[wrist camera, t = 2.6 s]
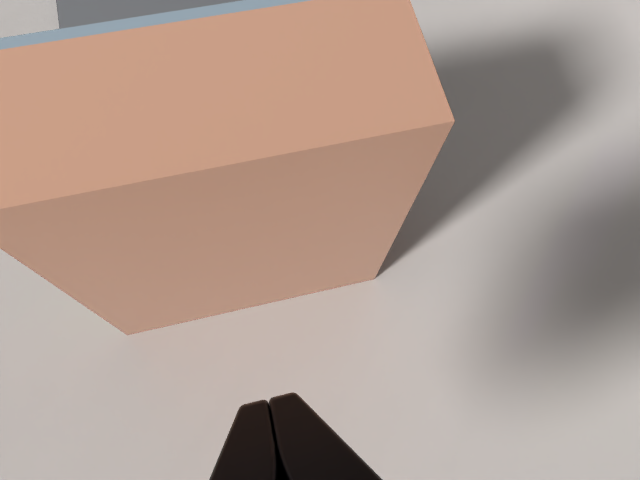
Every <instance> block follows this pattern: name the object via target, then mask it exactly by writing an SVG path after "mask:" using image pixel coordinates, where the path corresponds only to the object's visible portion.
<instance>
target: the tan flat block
mask: <svg viewBox="0 0 640 480" xmlns="http://www.w3.org/2000/svg"><path fill="white" fill-rule="evenodd" d="M454 122H455V120H454V117H453V114H452V112H451V109H450V106H449V104H448V101H447V98H446V96H445V93H444V90H443V88H442V85H441V82H440V80H439V77H438V74H437V72H436V69H435V66H434V64H433V61H432V58H431V55H430V53H429V50H428V47H427V45H426V42H425V39H424V37H423V34H422V31H421V29H420V26H419V23H418V21H417V18H416V15H415V13H414V10H413V7H412V5H411V2H410V0H242V1H235V2H229V3H222V4H216V5H210V6H203V7H197V8H190V9H184V10H177V11H171V12H165V13H158V14H152V15H145V16H139V17H133V18H126V19H120V20H113V21H107V22H100V23H94V24H88V25H81V26H75V27H68V28H62V29H56V30H49V31H43V32H36V33H30V34H24V35H17V36H11V37H4V38H0V249H2V250H3V251H5V252H6V253H8V254H9V255H11V256H12V257H14V258H15V259H17V260H18V261H19V262H21V263H22V264H24V265H25V266H27V267H28V268H30V269H31V270H33V271H34V272H36V273H37V274H39V275H40V276H41V277H43V278H44V279H46V280H47V281H49V282H50V283H52V284H53V285H55V286H56V287H58V288H59V289H60V290H62V291H63V292H65V293H66V294H68V295H69V296H71V297H72V298H74V299H75V300H77V301H78V302H79V303H81V304H82V305H84V306H85V307H87V308H88V309H90V310H91V311H93V312H94V313H96V314H97V315H98V316H100V317H101V318H103V319H104V320H106V321H107V322H109V323H110V324H112V325H113V326H115V327H116V328H117V329H119V330H120V331H122V332H123V333H125V334H126V335H130V334H135V333H139V332H144V331H148V330H152V329H157V328H161V327H166V326H170V325H174V324H179V323H183V322H188V321H192V320H196V319H201V318H205V317H210V316H214V315H219V314H223V313H227V312H232V311H236V310H241V309H245V308H249V307H254V306H258V305H263V304H267V303H271V302H276V301H280V300H285V299H289V298H293V297H298V296H302V295H307V294H311V293H315V292H320V291H324V290H329V289H333V288H337V287H342V286H346V285H351V284H355V283H359V282H364V281H368V280H373V279H375V277H376V275H377V273H378V271H379V269H380V267H381V265H382V263H383V261H384V259H385V257H386V255H387V254H388V252H389V250H390V248H391V246H392V244H393V242H394V240H395V238H396V236H397V234H398V232H399V230H400V228H401V226H402V224H403V222H404V220H405V218H406V216H407V214H408V212H409V210H410V208H411V206H412V204H413V202H414V200H415V199H416V197H417V195H418V193H419V191H420V189H421V187H422V185H423V183H424V181H425V179H426V177H427V175H428V173H429V171H430V169H431V167H432V165H433V163H434V161H435V159H436V157H437V155H438V153H439V151H440V149H441V147H442V146H443V144H444V142H445V140H446V138H447V136H448V134H449V132H450V130H451V128H452V126H453V124H454Z"/></svg>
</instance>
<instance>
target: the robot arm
mask: <svg viewBox="0 0 640 480" xmlns="http://www.w3.org/2000/svg"><path fill="white" fill-rule="evenodd" d="M209 480H382V479H381V478H380V477H379V476H378V475H377V474H376V473H375V472H374V471H373V470H372V469H371V468H370V467H369V466H368V465H367V464H366V463H365V462H364V461H363V460H362V459H361V458H360V457H359V456H358V455H357V454H356V453H355V452H354V451H353V450H352V449H351V448H350V447H349V446H348V445H347V444H346V443H345V442H344V441H343V440H342V439H341V438H340V437H339V436H338V435H337V434H336V433H335V432H334V431H333V430H332V429H331V428H330V427H329V426H328V425H327V424H326V423H325V422H324V421H323V420H322V419H321V418H320V417H319V416H318V415H317V413H316V412H315V411H314V410H313V409H312V408H311V407H310V406H309V405H308V404H307V403H306V402H305V401H304V400H303V399H302V398H301V397H300V396H299V395H297V394H296V393H288V394H284V395H280V396H276V397H273V398H271V399H270V401H269V403H268V402H267V401H266V400H260V401H256V402H252V403H248V404H244V405H242V406H241V407H240V408H239V410H238V412H237V415H236V417H235V419H234V422H233V424H232V427H231V429H230V431H229V434H228V436H227V439H226V441H225V443H224V446H223V448H222V451H221V453H220V455H219V458H218V460H217V463H216V465H215V467H214V470H213V472H212V474H211V477H210V479H209Z"/></svg>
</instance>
